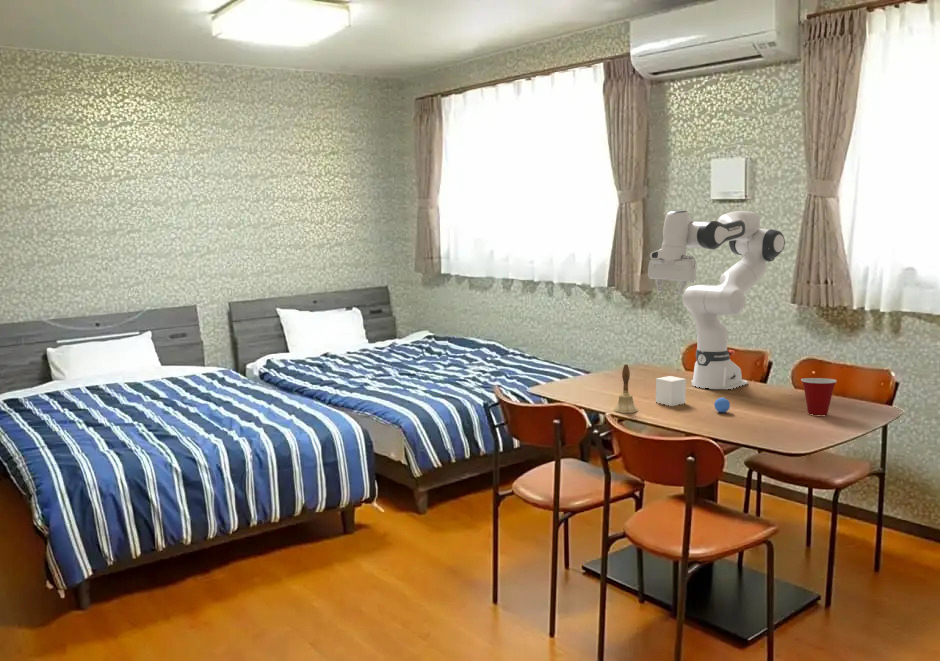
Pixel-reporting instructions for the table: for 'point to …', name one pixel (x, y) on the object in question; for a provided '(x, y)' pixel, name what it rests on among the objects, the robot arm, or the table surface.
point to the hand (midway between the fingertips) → (669, 293)
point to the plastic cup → (818, 394)
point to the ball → (722, 405)
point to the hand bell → (625, 395)
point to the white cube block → (670, 390)
